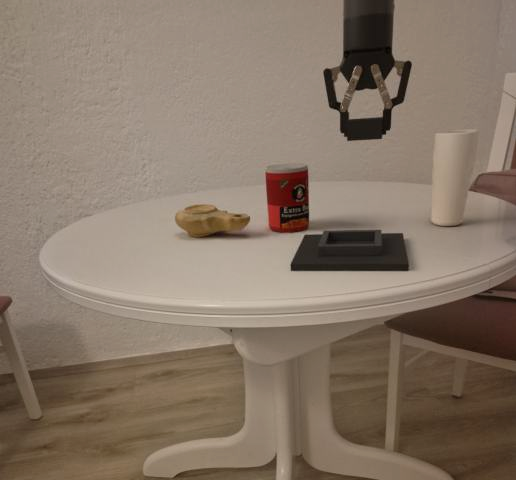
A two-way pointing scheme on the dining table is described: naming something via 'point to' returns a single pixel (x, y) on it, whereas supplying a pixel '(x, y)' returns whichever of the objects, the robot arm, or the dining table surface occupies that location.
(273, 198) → the canned food
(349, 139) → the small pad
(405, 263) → the base pad
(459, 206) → the drinking glass
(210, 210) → the oil lamp
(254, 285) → the dining table surface
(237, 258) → the dining table surface
